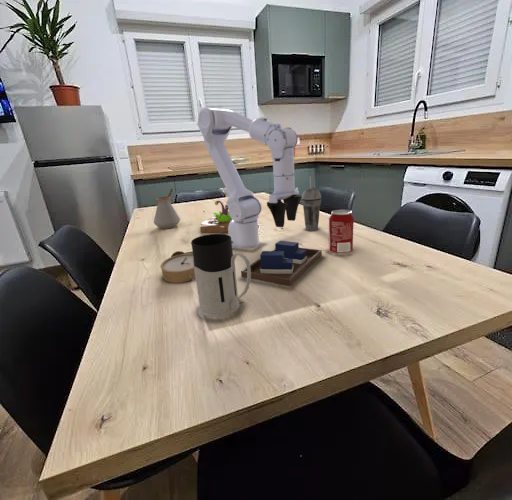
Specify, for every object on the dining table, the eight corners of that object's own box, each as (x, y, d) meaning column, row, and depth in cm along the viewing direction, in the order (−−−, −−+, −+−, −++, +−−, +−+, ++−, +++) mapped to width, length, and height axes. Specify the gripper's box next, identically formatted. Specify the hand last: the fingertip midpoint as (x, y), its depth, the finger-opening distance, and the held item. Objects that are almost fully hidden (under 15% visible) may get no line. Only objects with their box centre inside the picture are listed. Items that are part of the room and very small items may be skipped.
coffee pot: (177, 229, 127) (171, 194, 122) (151, 230, 128) (144, 196, 123) (188, 217, 147) (184, 187, 143) (166, 219, 148) (160, 189, 143)
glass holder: (222, 295, 66) (214, 230, 62) (270, 315, 57) (265, 241, 52) (189, 311, 61) (178, 241, 56) (236, 337, 51) (227, 256, 46)
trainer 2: (274, 260, 82) (274, 243, 81) (280, 256, 85) (279, 240, 83) (301, 264, 78) (301, 247, 77) (306, 259, 81) (306, 243, 79)
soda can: (353, 255, 83) (355, 214, 79) (328, 255, 85) (329, 214, 81) (351, 248, 89) (352, 208, 86) (328, 248, 91) (328, 209, 87)
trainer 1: (260, 273, 74) (259, 255, 73) (262, 267, 78) (261, 250, 76) (292, 273, 73) (291, 255, 71) (293, 268, 76) (293, 250, 74)
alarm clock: (153, 273, 74) (172, 244, 87) (158, 289, 76) (175, 259, 89) (197, 272, 72) (209, 243, 85) (200, 288, 75) (212, 257, 88)
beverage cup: (324, 227, 113) (324, 173, 107) (317, 232, 108) (317, 176, 101) (306, 225, 117) (305, 174, 111) (298, 230, 112) (297, 176, 105)
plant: (209, 221, 136) (206, 197, 132) (251, 220, 133) (249, 195, 129) (195, 234, 117) (191, 206, 114) (243, 232, 114) (240, 203, 111)
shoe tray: (241, 279, 74) (240, 271, 73) (280, 252, 90) (279, 245, 90) (289, 289, 67) (289, 279, 66) (321, 257, 84) (321, 250, 83)
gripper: (285, 178, 73) (287, 231, 78) (307, 172, 85) (308, 218, 89) (260, 178, 77) (264, 229, 81) (285, 172, 88) (287, 217, 93)
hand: (285, 223), depth 86 cm, fingers open, 7 cm apart
